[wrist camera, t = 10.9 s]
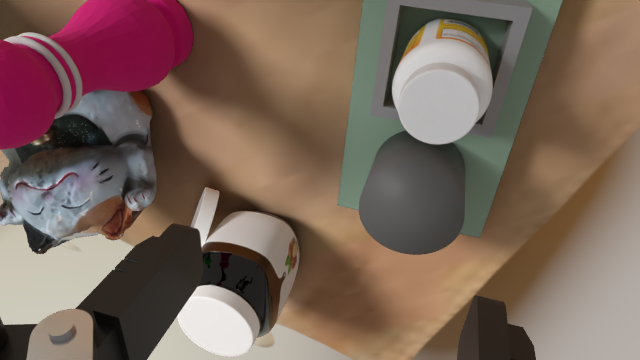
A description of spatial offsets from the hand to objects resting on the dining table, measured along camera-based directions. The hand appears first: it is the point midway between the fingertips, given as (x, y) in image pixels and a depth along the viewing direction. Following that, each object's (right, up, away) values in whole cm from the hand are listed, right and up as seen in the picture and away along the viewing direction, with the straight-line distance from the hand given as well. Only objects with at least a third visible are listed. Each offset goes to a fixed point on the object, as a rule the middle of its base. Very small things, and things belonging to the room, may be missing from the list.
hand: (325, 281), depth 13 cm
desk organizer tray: (+8, +9, +21) cm, 25 cm away
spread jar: (-7, -2, +34) cm, 34 cm away
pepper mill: (-13, +16, +25) cm, 32 cm away
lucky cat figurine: (-20, +8, +32) cm, 38 cm away
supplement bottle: (+8, +11, +18) cm, 23 cm away
